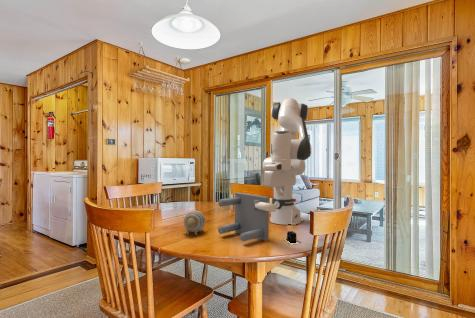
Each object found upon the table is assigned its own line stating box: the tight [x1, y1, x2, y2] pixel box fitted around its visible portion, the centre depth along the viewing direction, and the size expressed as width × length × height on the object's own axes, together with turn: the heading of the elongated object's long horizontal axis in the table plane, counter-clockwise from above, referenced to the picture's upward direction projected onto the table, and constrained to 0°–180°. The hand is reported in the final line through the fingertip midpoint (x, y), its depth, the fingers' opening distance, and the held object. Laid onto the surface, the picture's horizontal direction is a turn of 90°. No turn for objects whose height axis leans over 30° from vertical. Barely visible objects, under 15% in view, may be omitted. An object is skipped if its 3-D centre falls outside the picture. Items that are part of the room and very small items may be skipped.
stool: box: [217, 192, 270, 242], centre depth 129 cm, size 14×20×20 cm
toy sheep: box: [183, 210, 206, 236], centre depth 137 cm, size 11×17×11 cm, turn 175°
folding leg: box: [254, 200, 276, 213], centre depth 122 cm, size 11×4×4 cm, turn 45°
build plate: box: [286, 230, 298, 243], centre depth 126 cm, size 12×7×5 cm, turn 13°
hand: (280, 196), depth 124 cm, fingers closed
